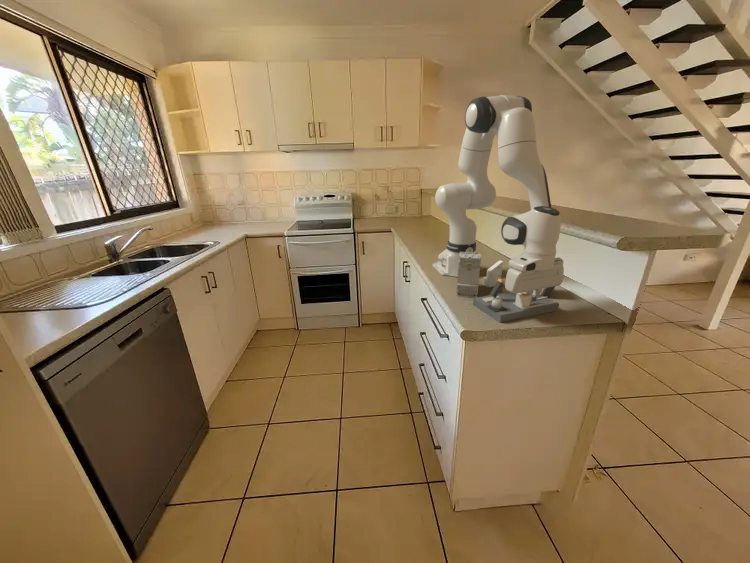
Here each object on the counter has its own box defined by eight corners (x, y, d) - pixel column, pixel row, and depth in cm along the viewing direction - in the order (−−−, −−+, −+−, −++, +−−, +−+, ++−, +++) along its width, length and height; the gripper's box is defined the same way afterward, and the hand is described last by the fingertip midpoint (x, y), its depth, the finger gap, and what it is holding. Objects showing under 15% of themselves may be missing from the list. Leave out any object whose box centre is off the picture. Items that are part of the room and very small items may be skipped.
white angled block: (509, 277, 125) (503, 261, 121) (490, 292, 124) (483, 276, 120) (503, 275, 128) (496, 259, 124) (484, 289, 127) (477, 273, 123)
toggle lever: (489, 294, 105) (498, 278, 104) (492, 296, 106) (502, 280, 105) (492, 296, 104) (502, 279, 103) (496, 298, 104) (505, 281, 103)
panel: (472, 304, 108) (473, 296, 107) (526, 295, 114) (527, 286, 113) (499, 322, 95) (500, 313, 94) (557, 310, 102) (559, 301, 101)
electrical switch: (530, 288, 120) (536, 265, 117) (544, 289, 120) (550, 267, 117) (539, 298, 112) (546, 274, 108) (554, 299, 111) (561, 275, 108)
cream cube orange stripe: (514, 304, 101) (516, 292, 100) (522, 303, 102) (524, 291, 101) (521, 308, 98) (523, 296, 97) (529, 306, 99) (531, 294, 98)
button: (489, 306, 100) (490, 299, 99) (497, 304, 101) (498, 297, 100) (495, 310, 97) (496, 303, 96) (504, 308, 98) (505, 301, 97)
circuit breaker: (476, 284, 126) (480, 248, 121) (477, 297, 113) (481, 258, 108) (457, 282, 128) (460, 247, 123) (456, 296, 115) (458, 257, 110)
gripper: (555, 254, 102) (548, 292, 107) (504, 261, 96) (499, 302, 101) (572, 259, 96) (564, 299, 101) (519, 267, 90) (513, 309, 95)
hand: (531, 301), depth 101 cm, fingers closed
